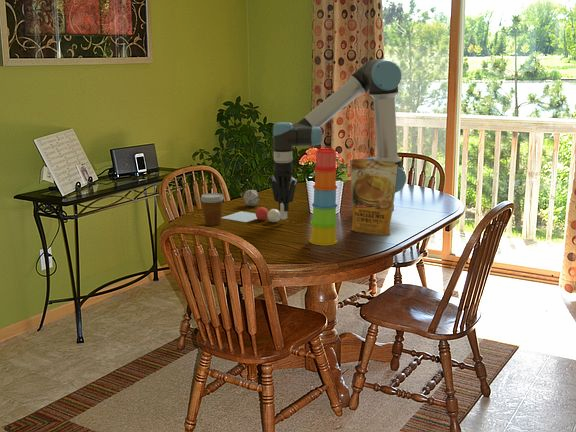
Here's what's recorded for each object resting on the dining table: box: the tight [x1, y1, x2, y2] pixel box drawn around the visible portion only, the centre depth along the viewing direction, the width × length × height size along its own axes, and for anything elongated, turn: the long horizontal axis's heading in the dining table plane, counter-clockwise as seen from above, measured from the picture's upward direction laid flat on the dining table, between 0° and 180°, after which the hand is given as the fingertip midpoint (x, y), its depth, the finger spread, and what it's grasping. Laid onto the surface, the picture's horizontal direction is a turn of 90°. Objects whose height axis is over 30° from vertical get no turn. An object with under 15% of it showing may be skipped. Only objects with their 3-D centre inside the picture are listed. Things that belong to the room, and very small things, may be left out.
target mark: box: [221, 210, 259, 223], centre depth 302 cm, size 14×14×1 cm
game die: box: [241, 188, 262, 208], centre depth 321 cm, size 9×8×10 cm
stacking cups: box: [309, 147, 338, 247], centre depth 258 cm, size 10×10×35 cm
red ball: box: [254, 206, 269, 221], centre depth 296 cm, size 6×6×6 cm
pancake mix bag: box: [349, 158, 398, 237], centre depth 271 cm, size 7×19×28 cm, turn 58°
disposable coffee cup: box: [200, 192, 225, 227], centre depth 290 cm, size 10×10×12 cm
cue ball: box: [266, 208, 281, 223], centre depth 292 cm, size 6×6×6 cm
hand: (283, 218), depth 289 cm, fingers closed
